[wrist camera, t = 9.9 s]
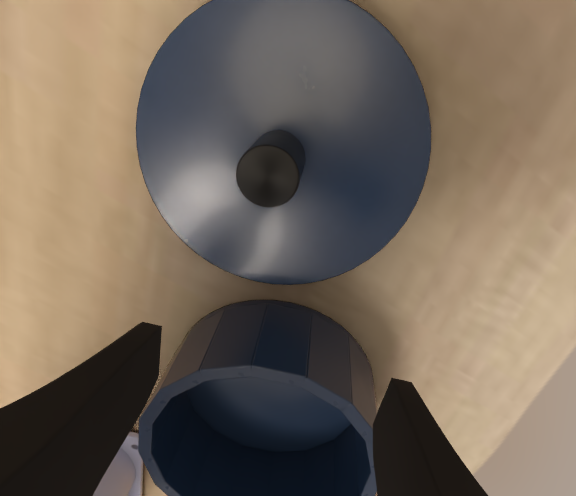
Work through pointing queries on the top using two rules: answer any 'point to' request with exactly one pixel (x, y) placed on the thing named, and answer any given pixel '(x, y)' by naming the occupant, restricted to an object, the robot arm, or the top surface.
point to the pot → (263, 408)
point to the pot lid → (283, 137)
